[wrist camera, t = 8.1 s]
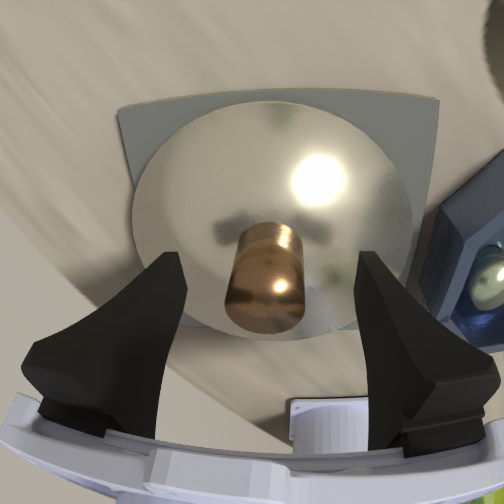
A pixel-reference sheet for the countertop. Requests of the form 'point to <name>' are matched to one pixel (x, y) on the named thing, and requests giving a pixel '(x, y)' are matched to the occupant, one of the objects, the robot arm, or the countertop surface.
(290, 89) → the coaster
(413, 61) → the countertop surface
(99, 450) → the robot arm
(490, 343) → the tin
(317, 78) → the countertop surface
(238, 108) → the lid
